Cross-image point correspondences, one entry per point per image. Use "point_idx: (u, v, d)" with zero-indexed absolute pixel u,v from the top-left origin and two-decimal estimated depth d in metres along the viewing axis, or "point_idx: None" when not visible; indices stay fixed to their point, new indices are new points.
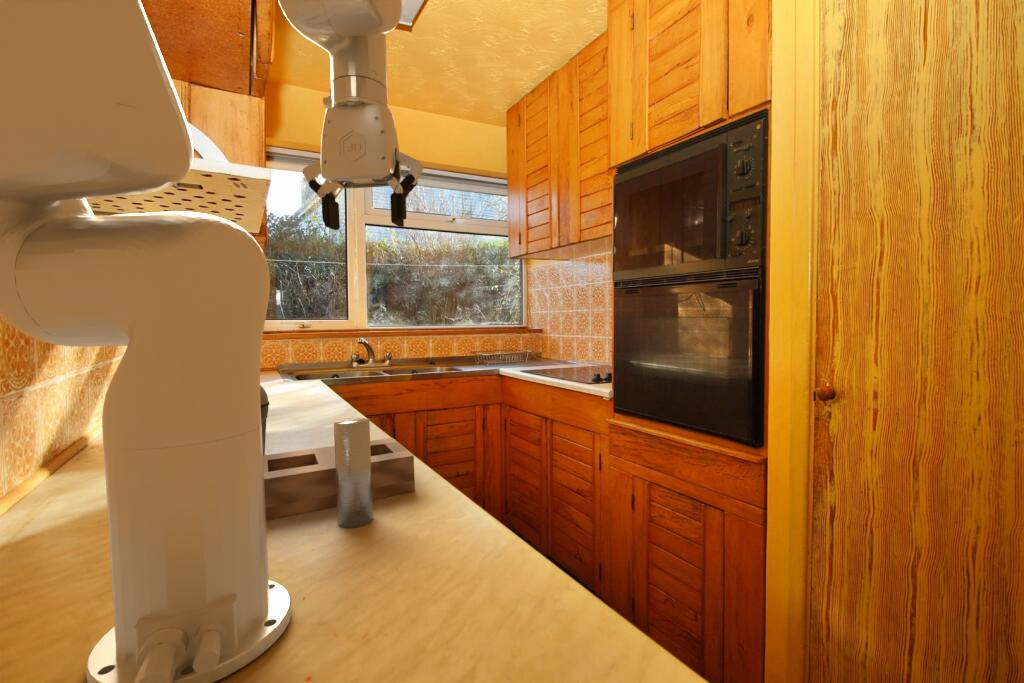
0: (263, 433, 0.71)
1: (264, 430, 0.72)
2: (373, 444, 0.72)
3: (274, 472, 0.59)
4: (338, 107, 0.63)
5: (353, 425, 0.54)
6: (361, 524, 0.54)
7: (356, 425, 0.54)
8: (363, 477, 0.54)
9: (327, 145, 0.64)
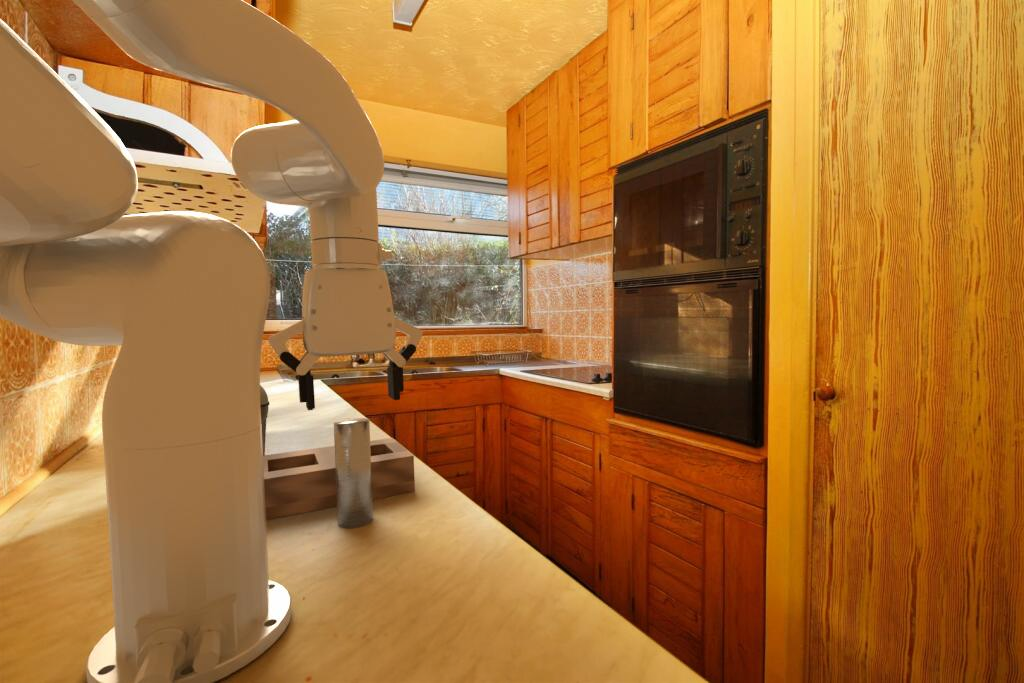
0: (263, 433, 0.71)
1: (264, 430, 0.72)
2: (373, 444, 0.72)
3: (274, 472, 0.59)
4: None
5: (353, 425, 0.54)
6: (361, 524, 0.54)
7: (356, 425, 0.54)
8: (363, 477, 0.54)
9: None
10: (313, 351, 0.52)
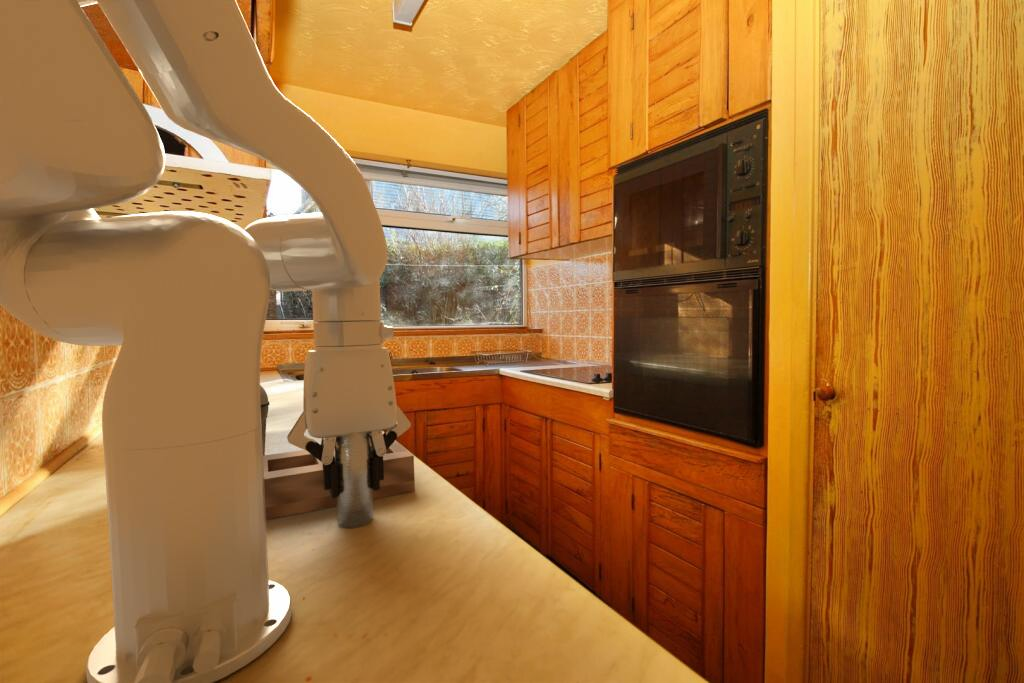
0: (263, 433, 0.71)
1: (264, 430, 0.72)
2: None
3: (274, 472, 0.59)
4: None
5: None
6: (361, 524, 0.54)
7: None
8: (363, 477, 0.54)
9: None
10: (314, 433, 0.52)
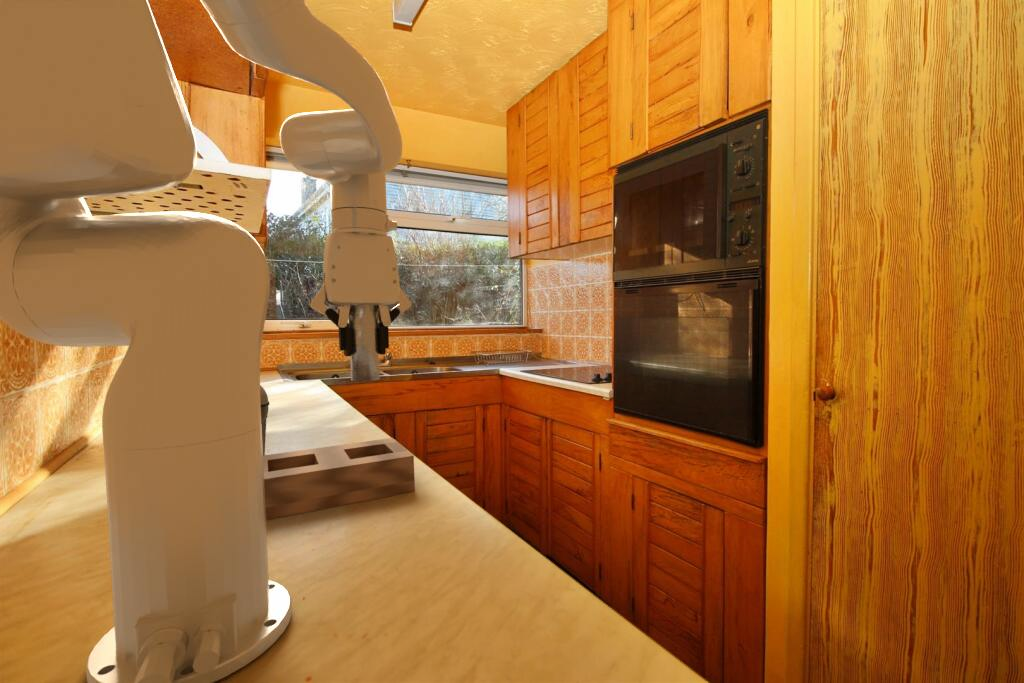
0: (263, 433, 0.71)
1: (264, 430, 0.72)
2: (373, 444, 0.72)
3: (274, 472, 0.59)
4: None
5: None
6: (370, 379, 0.66)
7: None
8: (372, 340, 0.66)
9: None
10: (332, 299, 0.64)
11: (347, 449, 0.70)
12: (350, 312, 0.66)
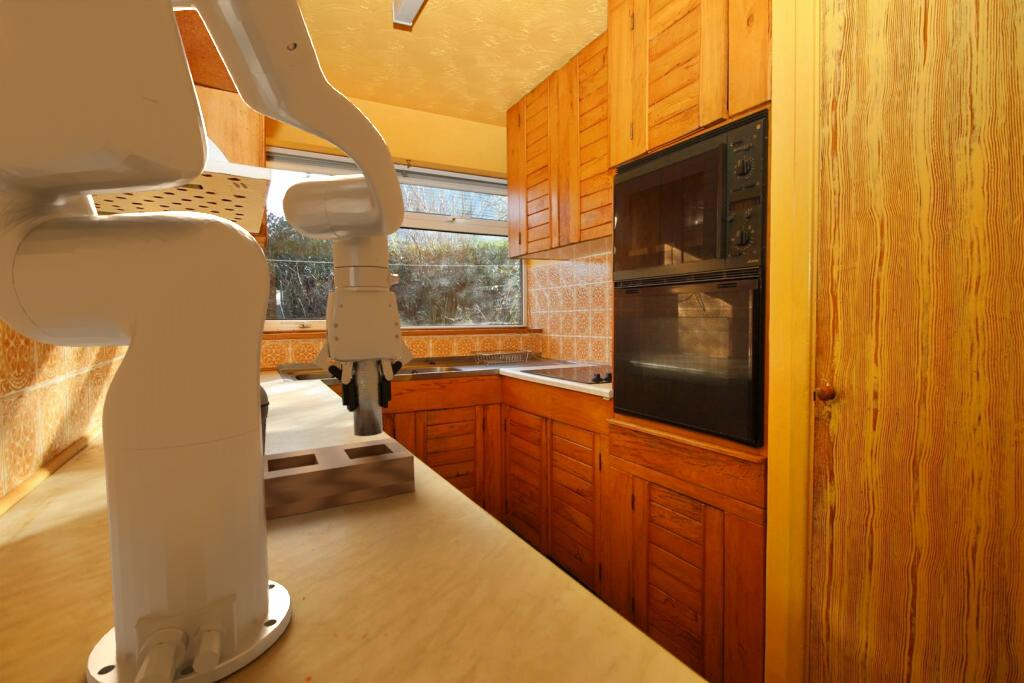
0: (263, 433, 0.71)
1: (264, 430, 0.72)
2: (373, 444, 0.72)
3: (274, 472, 0.59)
4: None
5: None
6: (373, 433, 0.67)
7: None
8: (375, 395, 0.67)
9: None
10: (335, 357, 0.64)
11: (347, 449, 0.70)
12: (353, 368, 0.66)
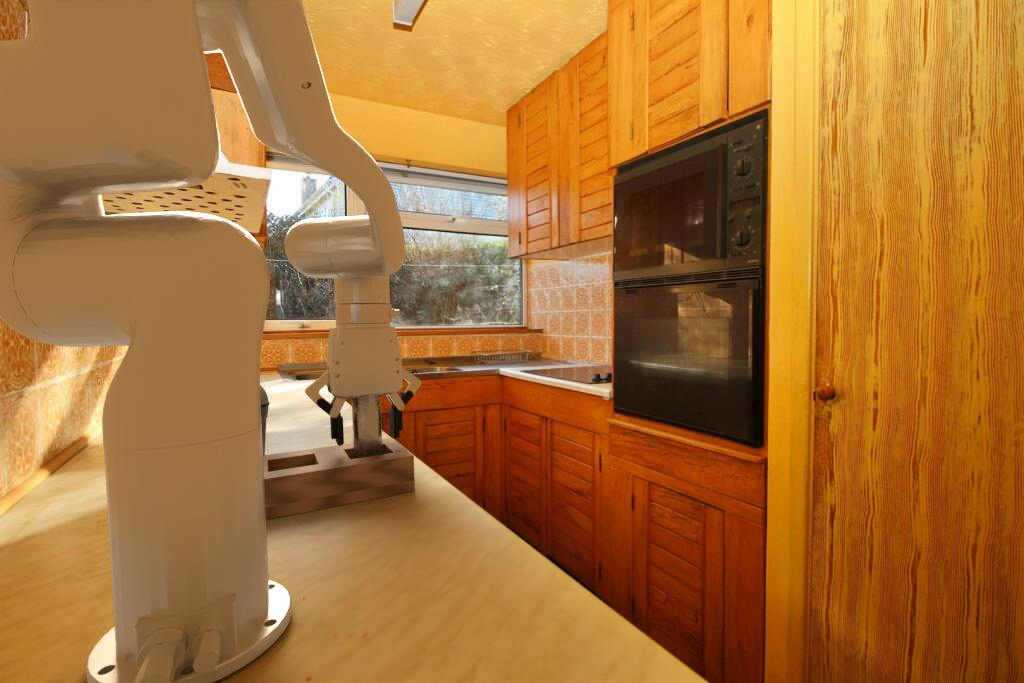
0: (263, 433, 0.71)
1: (264, 430, 0.72)
2: None
3: (274, 472, 0.59)
4: None
5: (367, 396, 0.66)
6: None
7: (370, 396, 0.66)
8: (376, 438, 0.67)
9: None
10: (336, 394, 0.64)
11: (347, 449, 0.70)
12: (354, 411, 0.66)
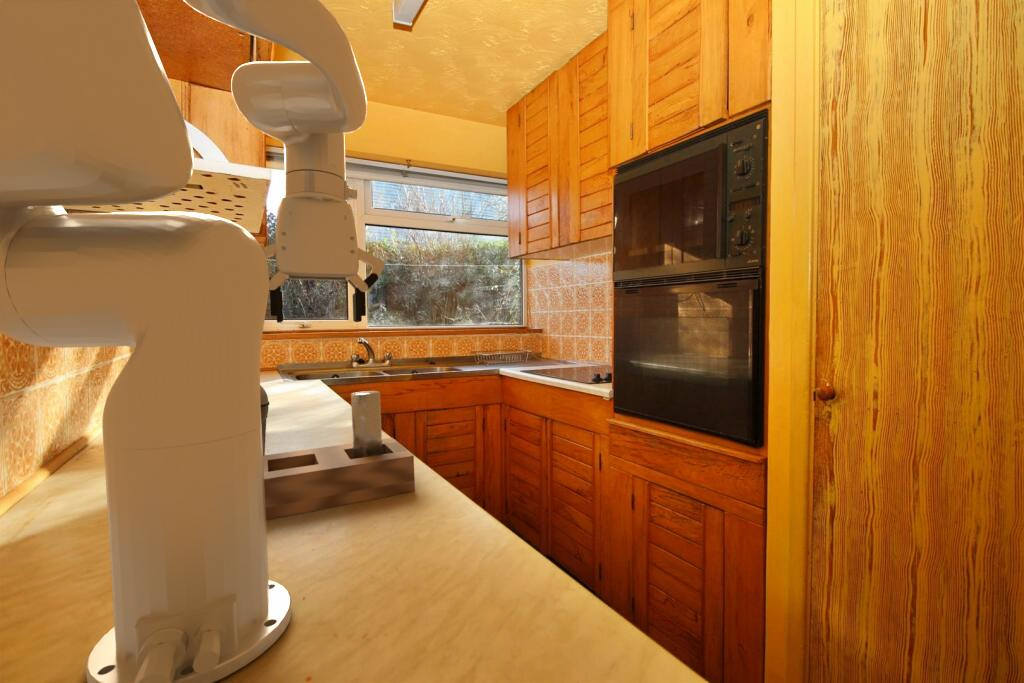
0: (263, 433, 0.71)
1: (264, 430, 0.72)
2: None
3: (274, 472, 0.59)
4: None
5: (367, 395, 0.66)
6: None
7: (370, 396, 0.66)
8: (375, 438, 0.67)
9: None
10: (282, 269, 0.59)
11: (347, 449, 0.70)
12: (353, 411, 0.66)
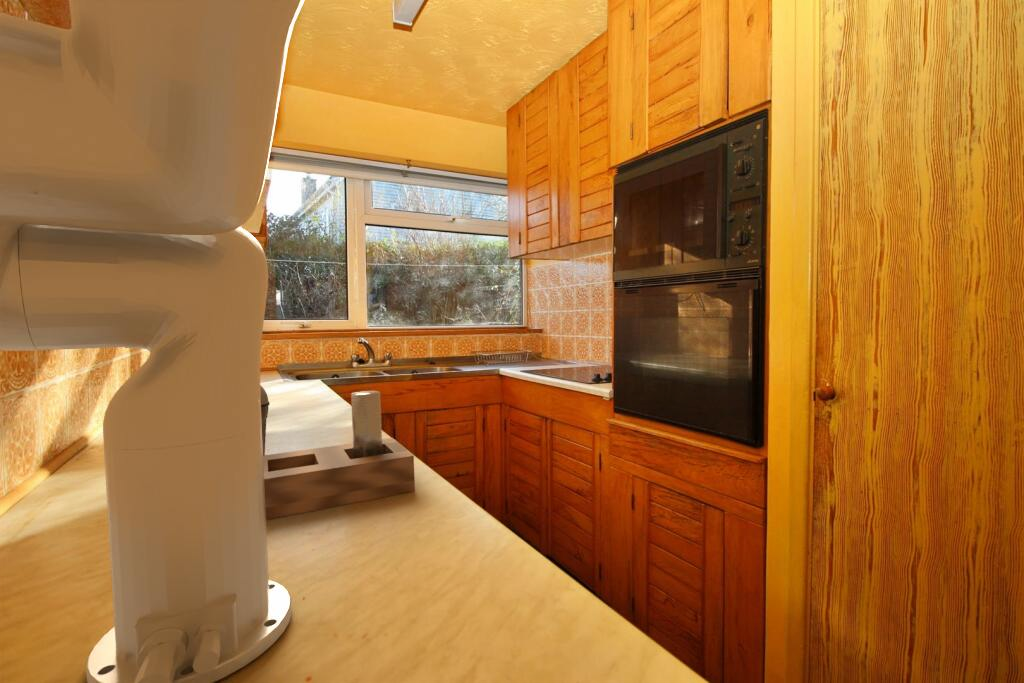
0: (263, 433, 0.71)
1: (264, 430, 0.72)
2: None
3: (274, 472, 0.59)
4: None
5: (367, 396, 0.66)
6: None
7: (370, 396, 0.66)
8: (376, 438, 0.67)
9: None
10: None
11: (347, 449, 0.70)
12: (354, 411, 0.66)
